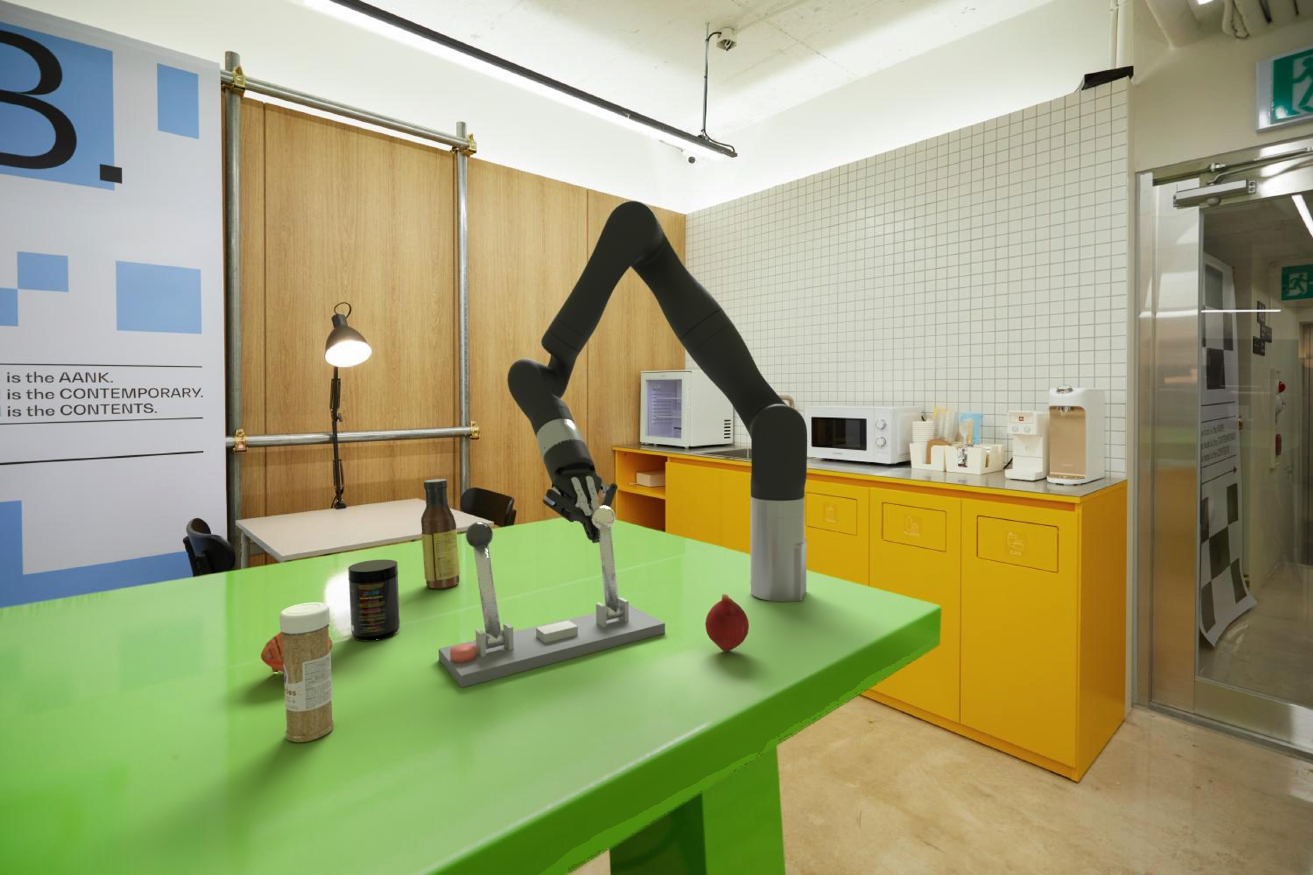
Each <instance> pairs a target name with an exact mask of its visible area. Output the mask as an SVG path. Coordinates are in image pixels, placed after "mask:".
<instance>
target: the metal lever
mask: <svg viewBox="0 0 1313 875" xmlns="http://www.w3.org/2000/svg"><path fill="white" fill-rule="evenodd" d="M591 519H592V523H593V524H594V526H595V527H596V528H598V535H599V542H598V544H599V553H600V555H599V556H600V564H601V565H600V566H601V575H602V576H601V577H602V584H603V596H604V605H605V606H606V620H611V619H615V618H619V617H622V616H623V608H622V606H621V605H620V604H619V602H618V598H619V594H618V593H619V591H618V584H617V583H618V582H617V571H616V565H615V563H616V562H615V561H616V560H615V553H614V551H615V550H614V543H613V533H612V527H613V526H614V524H615V523H616V513H615V510H613V509H612V508H611V506H610V507H608V506H601V505H599V507H597V508H596V509H595V510H594V511H593V513H592V517H591Z"/></svg>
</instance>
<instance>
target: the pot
mask: <svg viewBox="0 0 1313 875" xmlns="http://www.w3.org/2000/svg"><path fill="white" fill-rule="evenodd" d="M281 632H282V631H281V630H280V632H278V633H277V634H276V635H274V636H273V637H272V638H270V639H269V640H268V641H267V643H265V645H264V647H263V649H262V651H261V653H260V659H261V660H262V662H264V664H266V665H267V666H268V667H270V668H271V670H272V672H278V671H279V672H282V673H284V666H283V664H284V652H283V635H282V633H281ZM332 647H333V641H332V639H331V637H330V636H329V648H330V651H331V650H332ZM279 672H278V673H279Z"/></svg>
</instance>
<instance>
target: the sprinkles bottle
mask: <svg viewBox="0 0 1313 875" xmlns="http://www.w3.org/2000/svg"><path fill="white" fill-rule="evenodd" d="M330 613H331V611H330V607H329V605H328V604H327V603H323V602H320V601H319V602H318V601H317V602H315V601H313V602H311V601H310V602H305V603H298V604H295V605H294V604H293V605H291V606H289V607H286V608H284V609H282V610H281V612H280V613H279V630H280V632H281V631H282V632H281V633H282V635H283V652H284V664H283V666H284V672H283V682H284V706H285V713H286V714H285V716H286V730H285V738H286V739H287V740H288V741H290V742H293V743H305V742H311V741H314V740H316V739H319V738H322V737H324V736H326V735H327V734H329V733H330V732H331V731H332V730H333V728H334V726H335V722H334V719H333V707H332V706H333V704H332V698H333V685H332V661H331V650H330V648H329V637H330V636H329V634H330V633H329V627H330V622H331V617H330Z"/></svg>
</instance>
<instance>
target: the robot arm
mask: <svg viewBox="0 0 1313 875" xmlns="http://www.w3.org/2000/svg"><path fill="white" fill-rule="evenodd" d="M598 237H599V238H598V240H597V242H596V244H595V246H594V249H593V251H592V253H591V255H590V257H589V260H588V261H587V263H586V266H585V267H584V269H583V271H582V272H581V275H580V277H579V279H578V280H577V281H576V284H575V285H574V286H573V288H572V290H571V292H570V294H569V295H568V297H567V298H566V300H565V301H564V303H563V305H562V306H561V308H560V309H559V311H558V312H557V314H556V315H555V317H554V318H553V320H552V321H551V323H550V324H549V326H548V327H547V329H546V330H545V333H544V334H543V336H542V338H541V342H540V343H541V346H542V347H543V349H544V350H545V351H546V352H547V353H548V354H549V355H550V357H549V361H548V364H547V365H545V364H543V363H541V362H539V361H537V360H535V359H532V358H525V357H524V358H520V359H518V360H516V361H514V363H512V365H511V366H510V367H509V369H508V374H507V377H506V378H507V387H508V390H509V392H510V394H511V397H512V398H513V400H514V401H515V403H516V404H517V406H518V407H519V409H520V410H521V412H522V413H523V414H524V416H526V417H527V419H528V420H529V422H530V426H531V429H532V430H533V433H534V436H535V437H536V442H537V446H538V450H539V454H540V456H541V459H542V462H543V464H544V467H545V469H546V472H547V475H548V477H549V479H550V480H549V481H550V482H551V488H548V489H547V490H546V493H545V495H544V497H543V499H542V502H543V504H544V505H545V506H547V507H548V508H550V509H551V510H552V511H554V512H555V513H556V514H558V515H560V516H561V517H562V518H564V519H565V520H566V521H568V522H570V523H574V522H579V523H580V524H581V525H582V527H583V530H584V533H585V534H586V538H587V539H588V540H589V541H591V542H592V544H597V543H598V544H599V535H598V528H596V527H595V526H594V524H593V523H592V519H591V517H592V513H593V511H594V510H595V509H596V508H597V507H599V506H608V507H610V508H611V505H612V503H613V501H614V499H615V496H616V493H617V490H618V485H617V483H610V484H607V483H606V482H603V478H602V477H601V476H600V475H599V474H598V472H596V467H595V463H594V460H593V458H592V456H591V454H590V452H589V448H588V446H587V444H586V442H585V440H584V437H583V434H582V433H581V431H580V430H579V428H578V426H577V425H576V422H575V420H574V418H573V415H572V414H571V411H570V408H569V406H568V405H567V404H566V403H565V401H563V399H562V397H563V396H564V394H565V393H566V391H567V388H568V385H569V382H570V379H571V376H572V373H573V370H574V368H575V364H576V361H577V358H578V356H579V355H580V353H581V352H582V350H583V349H584V347H585V346H586V344H587V342H588V341H589V339H590V338H591V336H592V335H593V334H594V332H595V330H596V328H597V326H598V325H599V323H600V320H601V319H602V317H603V315H604V312H605V309H606V307H607V305H608V303H609V300H610V299H611V296H612V294H613V293H614V290H615V289H616V287H617V285H618V283H619V282H620V281H621V279H622V277H623V276H624V275H625V274H626V273H627V271H628V270H629V268H632V270H633V271H634V272H635V273H636V274H637V275H638V277H640V279H641V280H642V281H643V282H644V283H645V285H646V287H648V288H649V290H650V291H651V292H652V294H653V296H654V297H655V299H656V301H657V303H658V305H659V307H660V309H661V312H662V313H663V315H664V317H665V320H666V321H667V323H668V324H669V326H670V328H671V329H672V331H673V333H674V334H675V336H676V338H677V339H678V341H679V342H680V343H681V345H682V346H683V348H684V349H685V351H686V352H687V353H688V355H689V356H690V358H691V359H692V360H693V361H694V362H695V365H697V366H698V367H699V368H700V370H701V371H702V372H703V373H704V375H706V376H707V378H708V379H709V380H710V381H711V382H712V383H713V384H714V385H715V386H716V387H717V388H718V389H719V390H720V391H721V392H722V393H723V395H724V396H725V397H726V398H727V399H728V401H729V402H730V404H731V405H732V407H733V409H734V411H735V412H736V413H737V415H738V416H739V418H740V420H741V421H742V423H743V424H742V425H744V427H745V429H746V431H747V433H748V434H749V437H750V439H751V440H750V441H751V442H750V444H751V445H750V446H751V450H750V451H751V456H750V457H751V458H750V461H751V463H750V465H751V470H750V593H751V595H752V596H754V597H755V598H758V599H760V600H765V601H769V602H770V601H771V602H792V601H793V602H794V601H797V602H802V601H803V598H804V597H805V594H806V592H807V538H806V537H805V505H806V504H805V501H806V500H805V499H806V498H805V497H806V496H805V494H806V492H805V490H806V489H805V488H806V483H807V475H808V473H807V472H808V429H807V424H806V421H805V419H804V417H803V416H802V414H801V413H800V412H799V411H798V410H797V409H795V408H793V407H792V406H790V405H788V404H787V403H786V402H785V401H784V400H783V399H782V398H781V397H780V396H779V395H778V393H777V392H776V391H775V390H774V389H773V388H772V386H771V385H770V384H769V382H767V381H766V379H765V378H764V376H763V375H762V373H761V371H760V370H759V368H758V367H757V364H756V362H755V360H754V358H753V356H752V354H751V351H750V350H749V347H748V346H747V344H746V342H745V341H744V339H743V337H742V335H741V334H740V332H739V330H738V329H737V328H736V326H735V324H734V323H733V321H732V320H731V318H730V317H729V316H728V315H727V313H726V312H725V310H724V309H723V307H722V306H721V304H719V303H718V301H717V300H716V298H714V296H713V295H712V294H711V293H710V292H709V291H708V290H707V289H706V288H705V286H703V284H702V283H700V281H699V280H697V279H696V277H695V276H693V275H692V273H690V271H689V270H688V269H687V267H686V266H685V265H684V264H683V262H682V261H681V259H680V257H679V256H678V254H677V252H676V251H675V248H673V246H672V244H671V242H670V241H669V239H668V236H667V235H666V234H665V231H664V229H663V227H662V225H661V223H660V221H659V219H658V217H657V215H656V214H655V212H654V211H653V209H652V208H650V207H649V206H648V205H647V204H645V203H643V202H641V201H638V200H627V201H624V202H622V203H619V204H618V205H617V206H615V207H614V209H613V210H612V211H611V212H610V214H609V216H608V217H607V220H606V222H605V224H604V226H603V227H602V231H601V233H600V235H599V236H598ZM600 491H601V492H600ZM599 492H600V494H601V498H603V500H602V501H601V504H600V503H599V501H600V499H599Z"/></svg>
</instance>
